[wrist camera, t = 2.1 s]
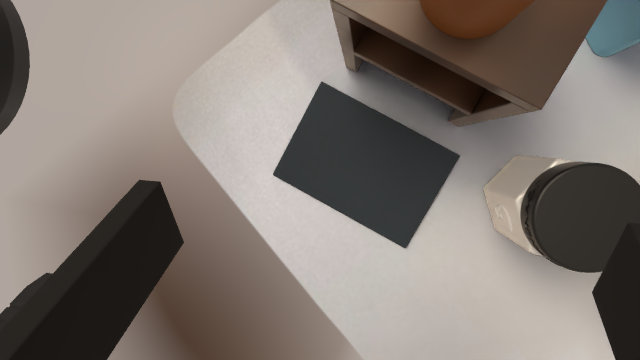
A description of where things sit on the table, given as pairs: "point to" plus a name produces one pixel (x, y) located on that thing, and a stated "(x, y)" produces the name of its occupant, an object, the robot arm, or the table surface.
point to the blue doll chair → (615, 27)
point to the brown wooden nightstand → (468, 53)
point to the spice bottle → (472, 15)
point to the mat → (365, 164)
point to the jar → (563, 209)
